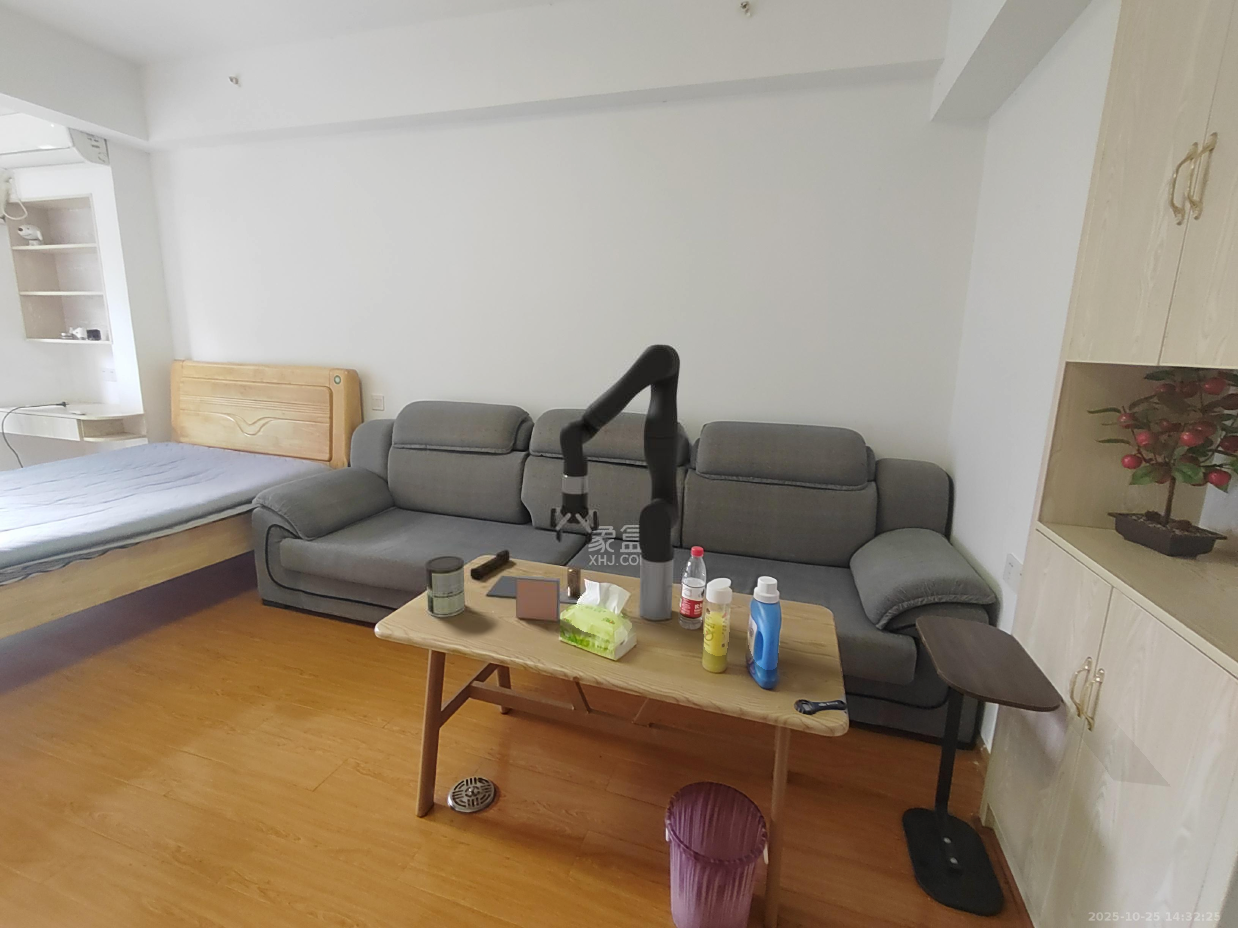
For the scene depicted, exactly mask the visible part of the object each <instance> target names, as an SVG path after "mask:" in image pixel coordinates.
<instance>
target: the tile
mask: <svg viewBox="0 0 1238 928" xmlns="http://www.w3.org/2000/svg"><path fill="white" fill-rule="evenodd" d="M515 577H516V598H515V615H516V616H515V618H517V619H524V620H525V619H526V620H535V621H536V620H537V621H538V620H539V621H548V622H549V621H550V622H559V621H560V620H561V619H560V618H561V612H560V611H561V605H560V604H561V602H560V594H561V579H560V578H554V577H543V576H541V577H540V576H531V575H530V576H529V575H518V574H517V575H516V576H515Z"/></svg>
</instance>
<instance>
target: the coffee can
mask: <svg viewBox="0 0 1238 928" xmlns="http://www.w3.org/2000/svg"><path fill="white" fill-rule="evenodd" d="M464 564H465V561H464V559H463V558H461V557H459V556H456V555H455V556H453V555H445V556H437V557H434V558H431V559H429V560H427V561H426V563H425V565H424V567H425V575H426V591H427V592H426V593H427V613H428V614H429V615H430V616H432V617H437V618H450V617H453V616H457V615H459V614H460V613H463V611H464V610H465V609H466V603H465V602H466V600H465V597H466V596H465V573H464V569H465V568H464Z"/></svg>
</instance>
